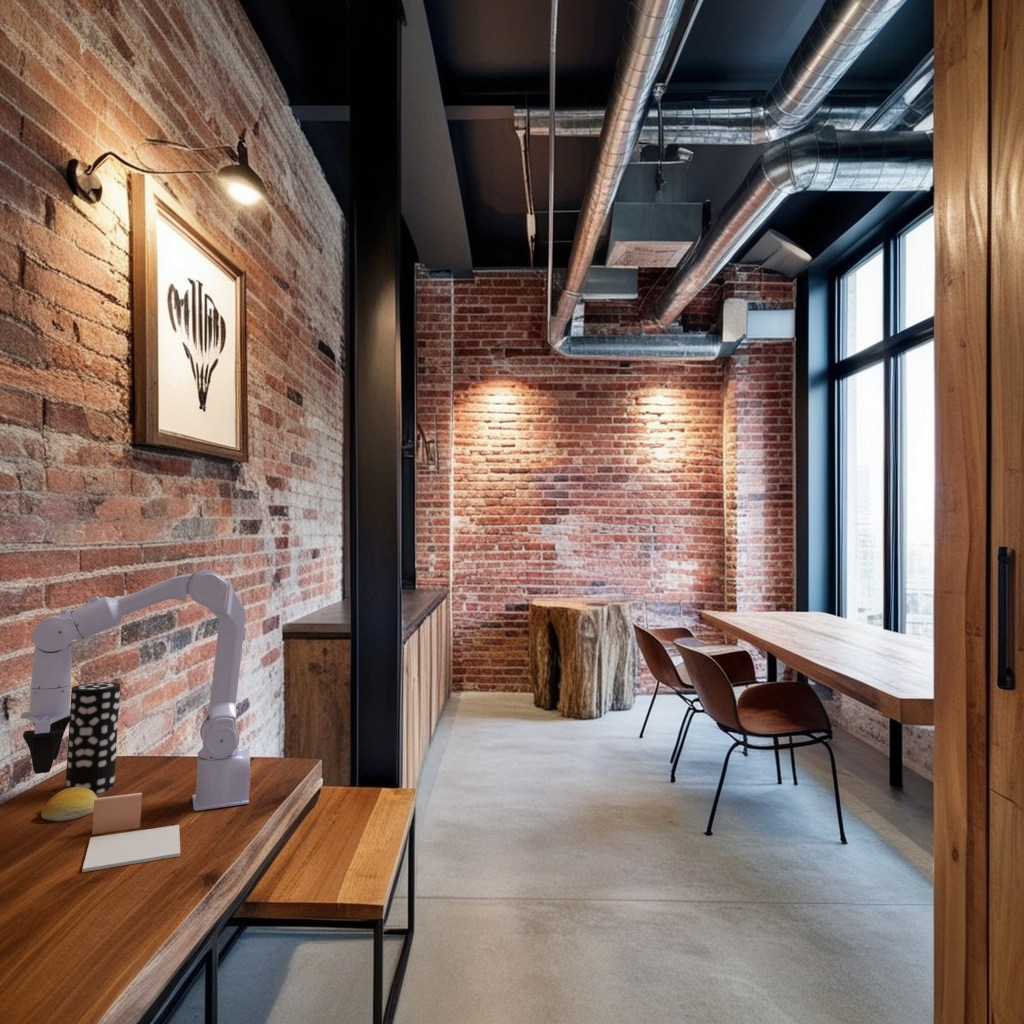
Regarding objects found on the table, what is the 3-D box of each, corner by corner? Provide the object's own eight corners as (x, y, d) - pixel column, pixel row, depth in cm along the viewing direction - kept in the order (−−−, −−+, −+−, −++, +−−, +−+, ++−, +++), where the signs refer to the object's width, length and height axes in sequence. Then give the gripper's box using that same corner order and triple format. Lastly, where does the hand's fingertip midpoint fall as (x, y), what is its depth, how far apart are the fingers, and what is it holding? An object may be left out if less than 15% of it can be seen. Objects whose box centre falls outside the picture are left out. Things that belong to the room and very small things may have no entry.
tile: (140, 824, 117) (141, 792, 117) (139, 827, 116) (141, 795, 116) (92, 831, 114) (94, 798, 114) (92, 834, 113) (94, 801, 113)
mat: (179, 827, 116) (179, 824, 116) (180, 856, 105) (180, 852, 105) (90, 840, 110) (90, 837, 110) (82, 872, 100) (82, 868, 100)
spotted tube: (122, 786, 135) (128, 685, 137) (77, 798, 128) (84, 692, 130) (101, 778, 140) (107, 680, 141) (56, 789, 133) (63, 686, 134)
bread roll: (35, 825, 116) (37, 801, 116) (51, 807, 125) (52, 784, 125) (91, 820, 119) (92, 797, 119) (102, 802, 127) (103, 780, 128)
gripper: (30, 680, 122) (25, 756, 121) (14, 696, 109) (8, 782, 108) (76, 677, 125) (72, 752, 124) (66, 692, 112) (61, 776, 111)
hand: (46, 766), depth 116 cm, fingers open, 7 cm apart
